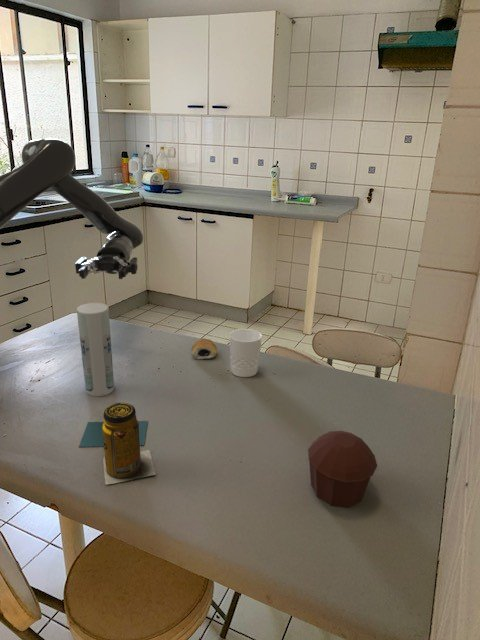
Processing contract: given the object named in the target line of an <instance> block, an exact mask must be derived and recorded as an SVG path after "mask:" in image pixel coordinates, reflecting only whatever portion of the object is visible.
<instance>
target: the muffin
mask: <svg viewBox="0 0 480 640" xmlns="http://www.w3.org/2000/svg"><path fill="white" fill-rule="evenodd" d="M307 453H308V462H309V463H308V464H309V475H310V486H311V488H312V490H313V492H314V493H315V496H316V498H318V499H320V500H322V501H324V502H325V503H327V505H330V506H332V507H333V506H334V507H342V508H350V507H351V506H353V505H355V504H359V503H361V502H362V500H363V497H364V496H365V492H366V490H367V487H368V485H369V482H370V480H371V477H373V476H374V474H375V472H376V470H377V467H378V464H377V463H378V462H377V460H376V456H375V454H374V453H373V451H372V450H371V448H370V447H369V446H368V444H367V443H366V442H365V441H364V440H363V439H362V438H361V437H360V436H358V435H356V434H354V433H352V432H349V431H346V430H331V431H328V432H326V433H324V434H321V435H320V436H318V437H317V438H316V439H314V440H313V442H312V443H311V444H310V446H309V447H308V448H307Z"/></svg>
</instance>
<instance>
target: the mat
mask: <svg viewBox="0 0 480 640" xmlns="http://www.w3.org/2000/svg"><path fill="white" fill-rule="evenodd" d="M138 423H139V439H140V447H144V446H145V441H146V435H147V428H148V423H149V420H138ZM103 424H104V421H88V422H87V424H86V426H85V428H84V432H83V434H82V437H81V440H80V443H79V445H78V448H104V441H103V430H102V427H103Z"/></svg>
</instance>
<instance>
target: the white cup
mask: <svg viewBox="0 0 480 640" xmlns="http://www.w3.org/2000/svg"><path fill="white" fill-rule="evenodd" d="M262 338H263V334H262V333H261V332H260V331H258V330H256V329H251V328H237V329H234V330H232V331H231V332H230V333H229V361H230V372H231V373H232V375H234V376H237V377H239V378H251V377H253V376H256V374H257V373H258V371H259V362H260V356H261V346H262Z"/></svg>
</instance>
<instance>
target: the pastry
mask: <svg viewBox="0 0 480 640" xmlns="http://www.w3.org/2000/svg"><path fill="white" fill-rule="evenodd" d="M217 354H218V348H217V345H216V344H215V343H214V342H213V340H211V339H209V338H205V337H203V338H202V337H201V338H200V339H197V340H196V341H195V342H194V343H193V344H192V346H191V357H192V358H193V359H194V360H210V359H214V358H215V357H216V356H217Z"/></svg>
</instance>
